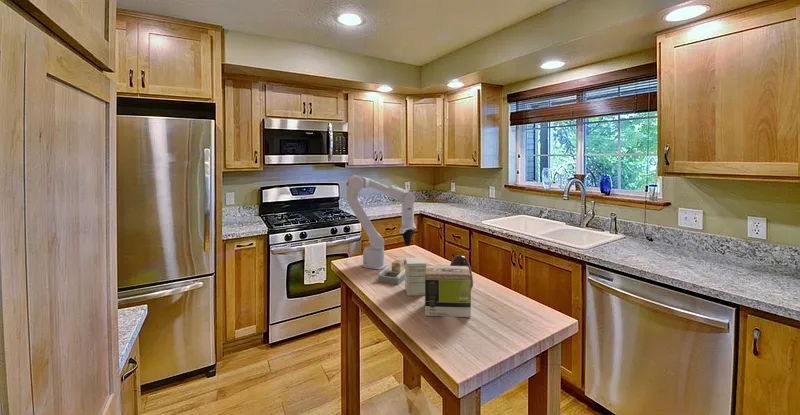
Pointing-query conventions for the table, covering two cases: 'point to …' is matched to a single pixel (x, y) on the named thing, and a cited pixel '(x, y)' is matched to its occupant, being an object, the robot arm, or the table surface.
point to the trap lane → (392, 275)
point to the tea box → (447, 291)
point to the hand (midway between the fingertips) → (407, 245)
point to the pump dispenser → (462, 264)
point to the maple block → (397, 266)
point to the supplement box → (415, 276)
